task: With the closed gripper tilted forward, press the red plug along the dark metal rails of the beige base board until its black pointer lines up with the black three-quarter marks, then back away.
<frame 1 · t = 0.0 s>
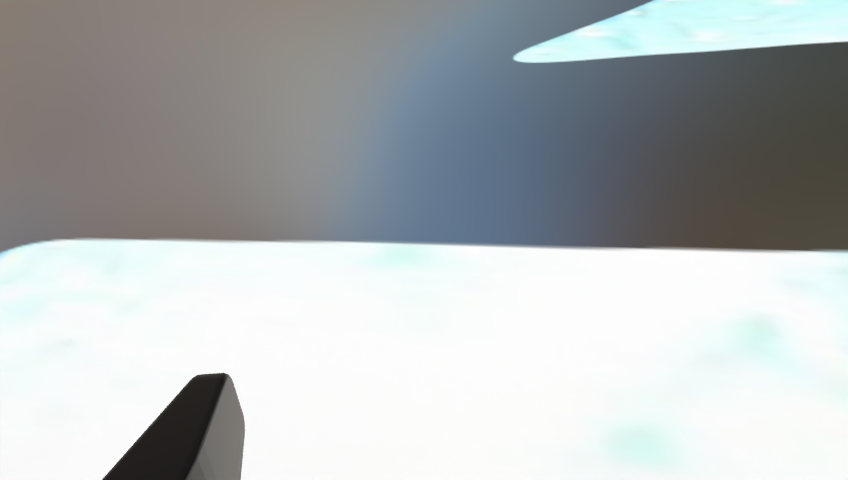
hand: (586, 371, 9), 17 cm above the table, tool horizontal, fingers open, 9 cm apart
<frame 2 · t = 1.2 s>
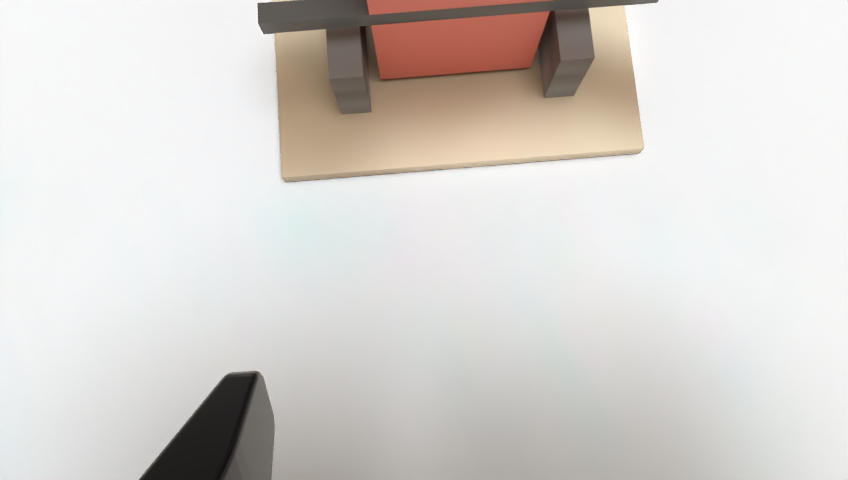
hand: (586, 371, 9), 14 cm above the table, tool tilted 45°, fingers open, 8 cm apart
beige base board: (449, 30, 24), on the table
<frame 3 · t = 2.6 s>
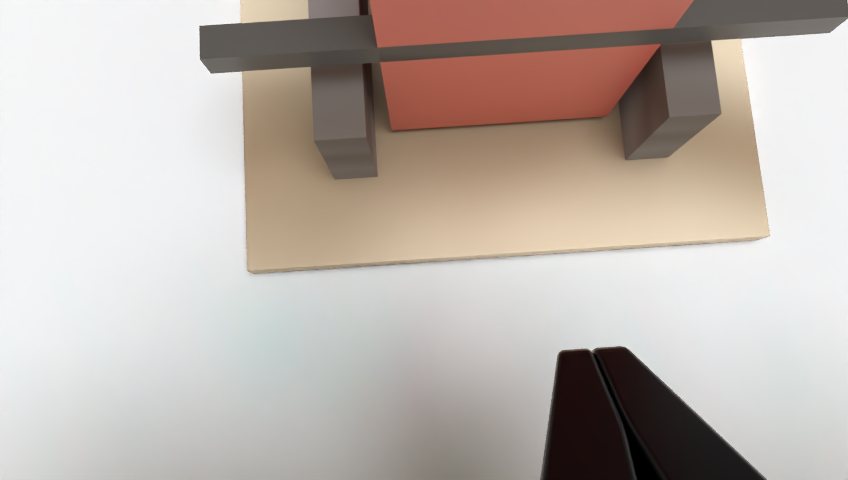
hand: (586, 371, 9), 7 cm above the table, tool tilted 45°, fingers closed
beige base board: (489, 58, 17), on the table
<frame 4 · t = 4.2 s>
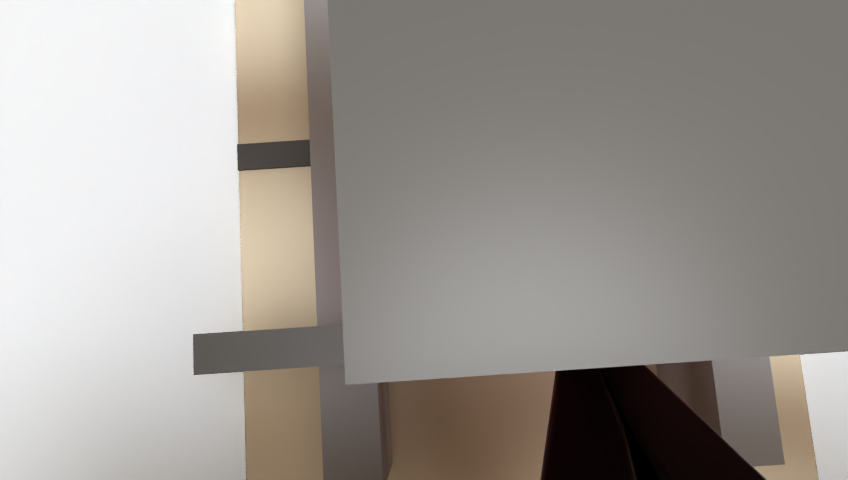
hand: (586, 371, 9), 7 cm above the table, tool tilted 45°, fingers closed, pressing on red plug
red plug: (553, 213, 10), point 6 cm above the table, slide at 1.2 cm, touching gripper
beige base board: (513, 313, 16), on the table
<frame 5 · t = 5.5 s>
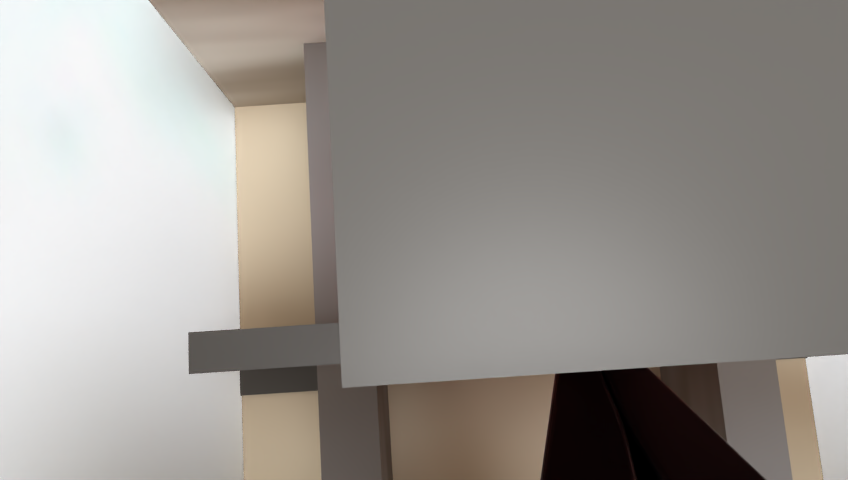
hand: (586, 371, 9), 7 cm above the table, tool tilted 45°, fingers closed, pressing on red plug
red plug: (556, 209, 10), point 6 cm above the table, slide at 6.2 cm, touching gripper
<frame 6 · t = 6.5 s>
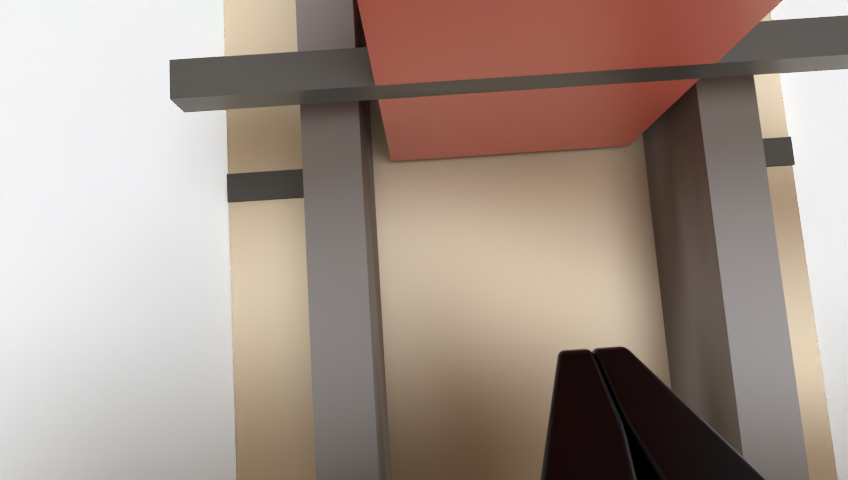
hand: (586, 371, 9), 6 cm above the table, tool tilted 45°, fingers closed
beige base board: (521, 354, 15), on the table
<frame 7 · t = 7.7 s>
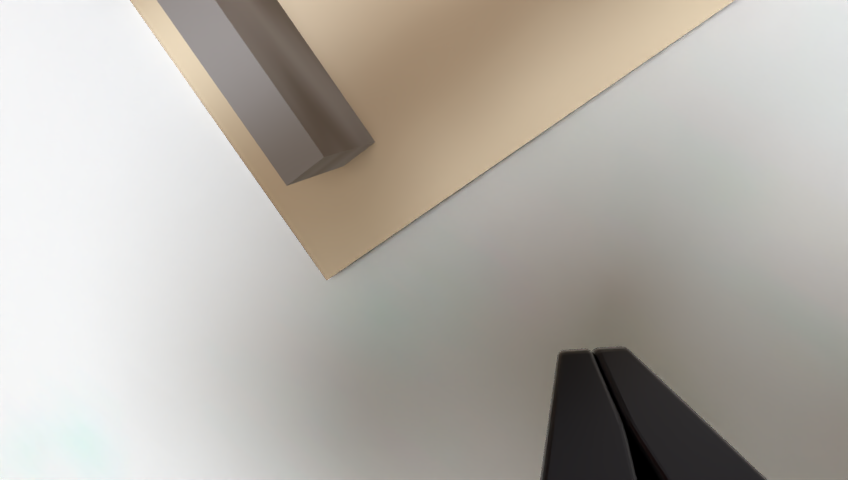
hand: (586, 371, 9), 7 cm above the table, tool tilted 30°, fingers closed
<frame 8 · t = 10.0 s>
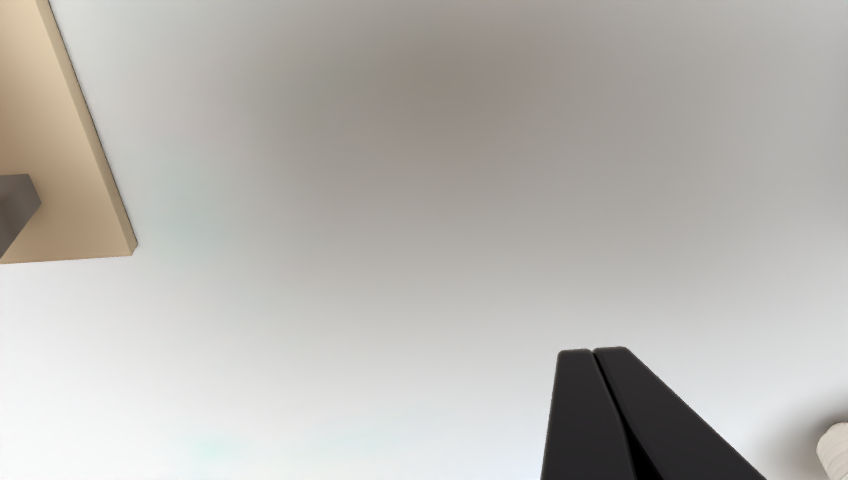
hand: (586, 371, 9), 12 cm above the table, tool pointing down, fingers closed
lightbulb: (835, 423, 29), on the table
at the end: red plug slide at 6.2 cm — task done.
